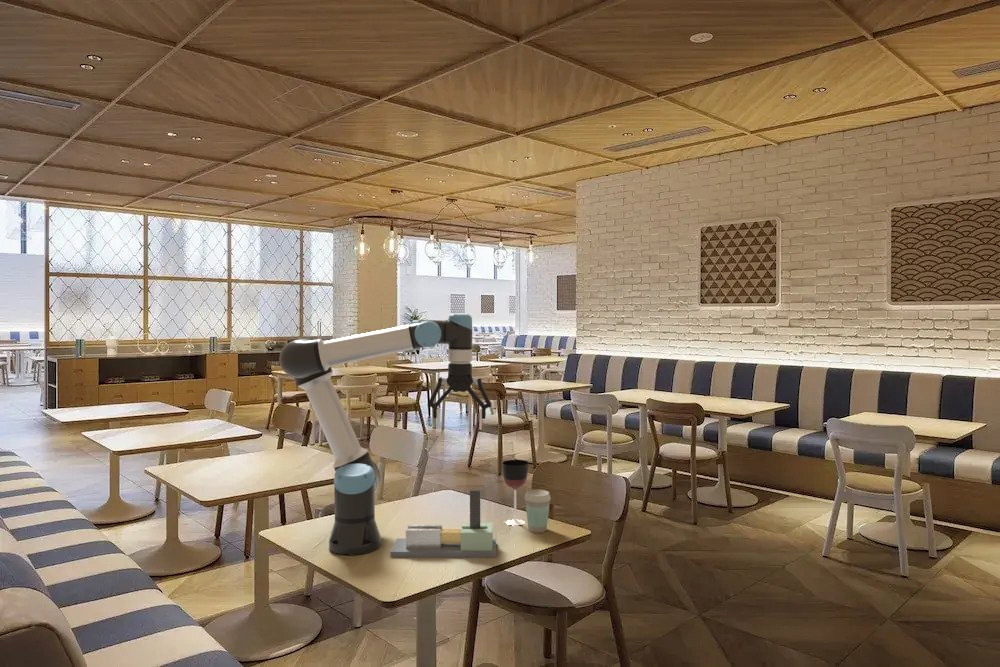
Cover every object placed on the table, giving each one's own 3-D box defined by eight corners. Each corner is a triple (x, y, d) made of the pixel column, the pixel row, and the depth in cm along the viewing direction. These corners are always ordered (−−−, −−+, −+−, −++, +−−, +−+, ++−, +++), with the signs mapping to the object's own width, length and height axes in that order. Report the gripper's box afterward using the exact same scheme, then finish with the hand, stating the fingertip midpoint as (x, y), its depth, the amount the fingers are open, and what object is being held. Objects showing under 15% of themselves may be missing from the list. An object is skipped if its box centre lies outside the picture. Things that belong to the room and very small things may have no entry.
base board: (390, 557, 190) (390, 551, 190) (396, 543, 201) (396, 538, 201) (495, 557, 189) (495, 552, 189) (496, 543, 200) (496, 538, 200)
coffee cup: (551, 525, 217) (551, 489, 216) (550, 534, 208) (550, 496, 208) (524, 525, 218) (524, 488, 217) (523, 533, 209) (523, 496, 209)
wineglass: (498, 520, 222) (498, 461, 221) (522, 517, 225) (522, 458, 224) (507, 528, 215) (507, 466, 214) (532, 524, 218) (532, 464, 217)
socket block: (460, 550, 191) (460, 532, 190) (462, 539, 199) (462, 522, 199) (492, 550, 191) (492, 532, 190) (492, 539, 199) (492, 522, 199)
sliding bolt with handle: (437, 543, 193) (436, 491, 193) (438, 539, 197) (437, 488, 196) (485, 543, 193) (485, 491, 193) (485, 539, 196) (485, 488, 196)
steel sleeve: (405, 548, 193) (405, 530, 192) (408, 541, 198) (408, 524, 198) (440, 548, 192) (440, 530, 192) (442, 541, 198) (442, 524, 197)
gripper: (499, 362, 216) (498, 427, 217) (422, 361, 216) (421, 426, 217) (499, 364, 209) (498, 431, 209) (419, 363, 209) (418, 430, 209)
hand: (459, 428), depth 213 cm, fingers open, 13 cm apart
